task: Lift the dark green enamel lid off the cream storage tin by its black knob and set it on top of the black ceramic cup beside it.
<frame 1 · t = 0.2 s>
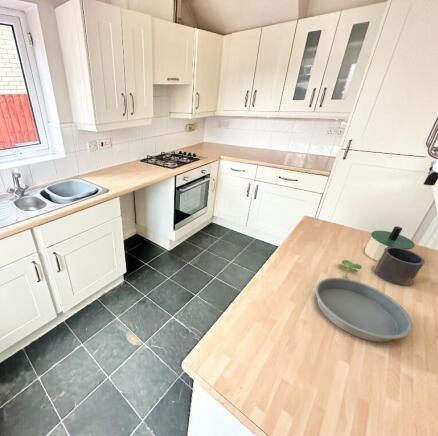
hand: (437, 189, 92), 31 cm above the counter, tool pointing down, fingers open, 9 cm apart
seedling: (343, 272, 98), on the counter
lid: (391, 239, 102), point 8 cm above the counter, touching tin
tin: (382, 255, 106), on the counter
cake pan: (354, 313, 81), on the counter
cup: (391, 275, 96), on the counter
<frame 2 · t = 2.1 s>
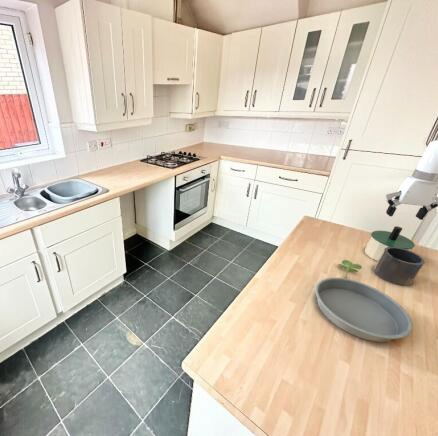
hand: (403, 216, 97), 20 cm above the counter, tool pointing down, fingers open, 9 cm apart
nothing on the counter moved.
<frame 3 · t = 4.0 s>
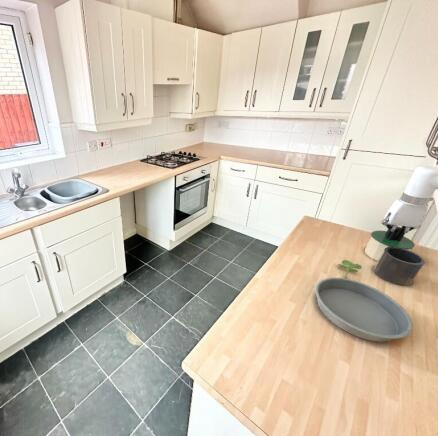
hand: (392, 238, 102), 9 cm above the counter, tool pointing down, fingers closed on lid, 2 cm apart
lid: (391, 239, 102), point 8 cm above the counter, touching gripper, tin
everything else where it was.
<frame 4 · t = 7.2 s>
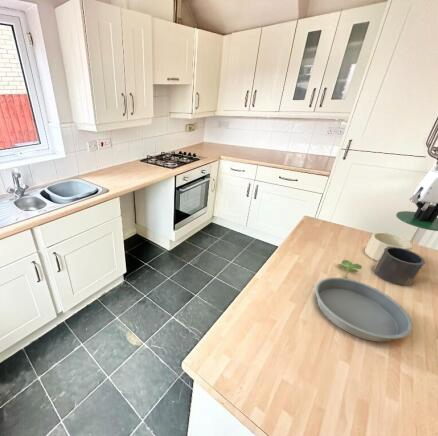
hand: (423, 219, 85), 25 cm above the counter, tool pointing down, fingers closed on lid, 2 cm apart
lid: (422, 221, 85), point 24 cm above the counter, touching gripper
everything else where it was.
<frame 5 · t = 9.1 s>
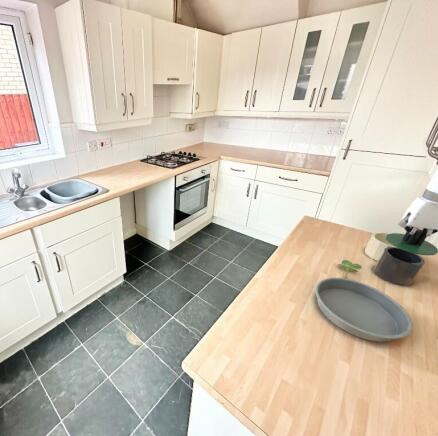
hand: (411, 242, 88), 16 cm above the counter, tool pointing down, fingers closed on lid, 2 cm apart
lid: (410, 244, 88), point 15 cm above the counter, touching gripper
everything else where it was.
when the fingers open (11 cm above the counter, at t = 10.3 s): lid stays where it is, resting on cup.
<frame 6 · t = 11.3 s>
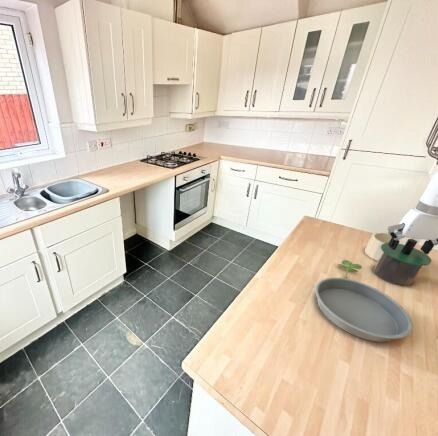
hand: (407, 249, 90), 13 cm above the counter, tool pointing down, fingers open, 9 cm apart
lid: (404, 253, 90), point 11 cm above the counter, touching cup
everything else where it was.
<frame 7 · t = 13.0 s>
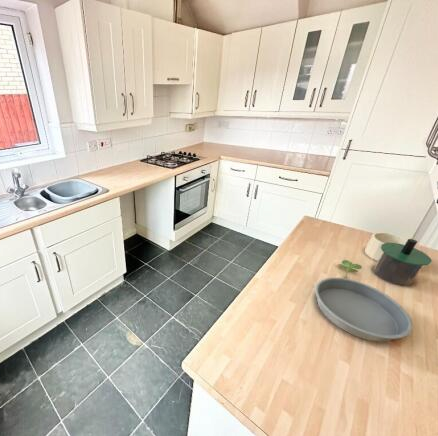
nothing on the counter moved.
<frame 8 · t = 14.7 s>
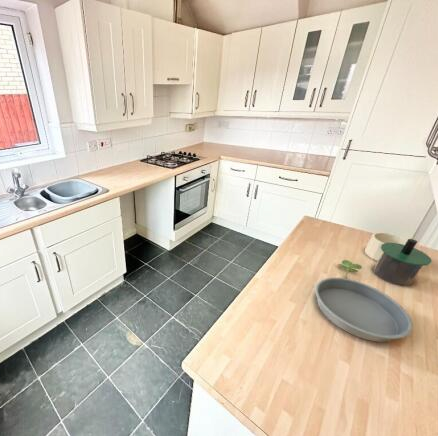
nothing on the counter moved.
at the end: lid 0.0 cm off-centre on the cup, point 10.6 cm above the cup's base; lid tilted 0°; the gripper is holding nothing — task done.
